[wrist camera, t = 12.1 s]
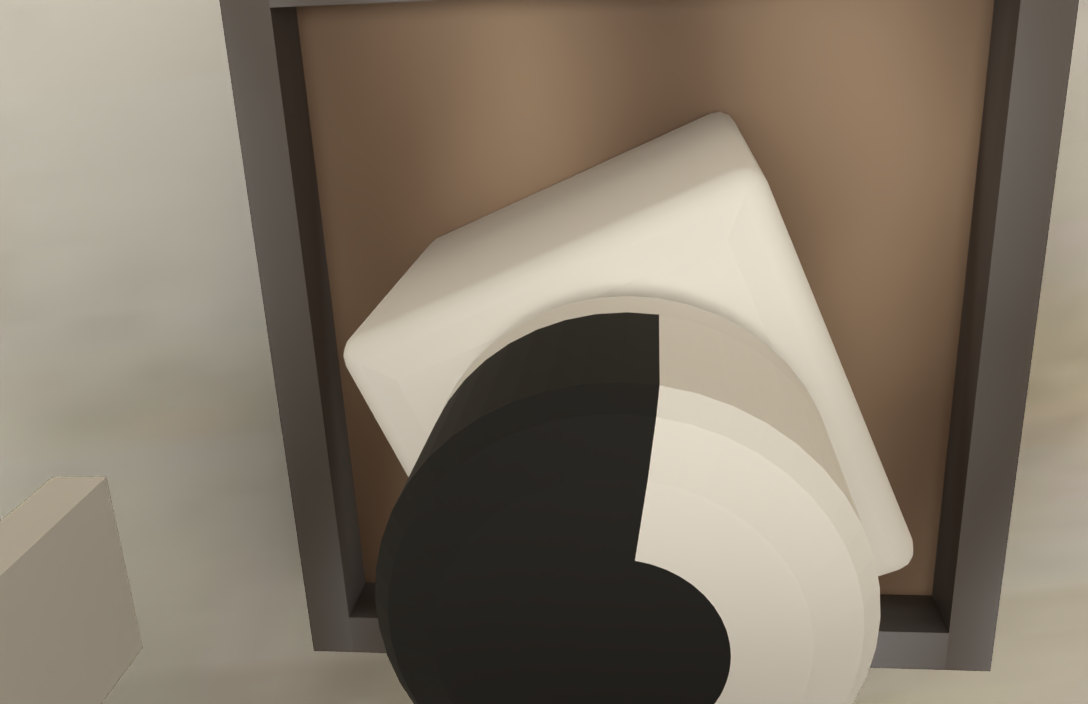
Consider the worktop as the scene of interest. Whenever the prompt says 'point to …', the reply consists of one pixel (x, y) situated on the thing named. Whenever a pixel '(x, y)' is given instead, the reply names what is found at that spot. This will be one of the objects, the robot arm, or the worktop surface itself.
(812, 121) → the wooden tray
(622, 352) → the medicine bottle
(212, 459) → the worktop surface
